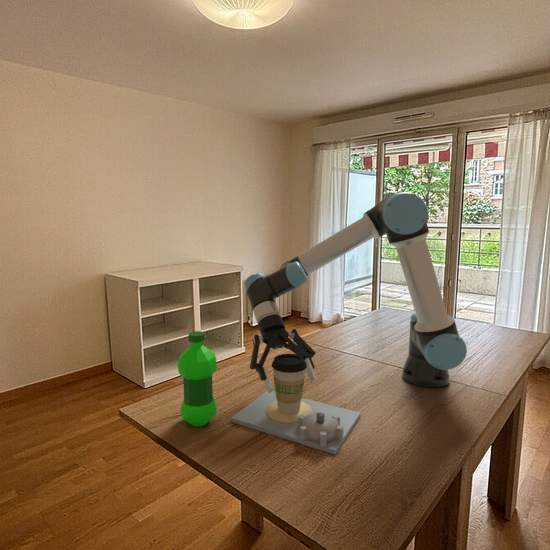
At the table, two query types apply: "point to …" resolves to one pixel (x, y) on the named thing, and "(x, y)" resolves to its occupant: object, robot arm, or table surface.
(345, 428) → the gear board
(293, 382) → the coffee cup
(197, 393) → the plastic bottle
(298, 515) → the table surface
